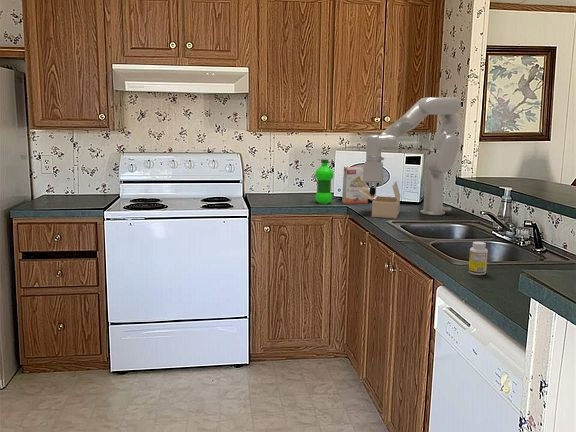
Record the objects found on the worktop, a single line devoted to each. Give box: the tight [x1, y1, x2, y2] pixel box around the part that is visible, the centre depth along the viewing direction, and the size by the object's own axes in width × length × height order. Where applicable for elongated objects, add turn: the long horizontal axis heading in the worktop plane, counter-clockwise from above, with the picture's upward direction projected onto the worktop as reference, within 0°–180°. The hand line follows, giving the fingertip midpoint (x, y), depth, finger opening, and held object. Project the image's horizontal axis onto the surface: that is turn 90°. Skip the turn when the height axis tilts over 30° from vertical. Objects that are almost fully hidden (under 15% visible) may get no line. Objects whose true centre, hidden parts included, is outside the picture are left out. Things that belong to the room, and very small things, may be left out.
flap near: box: [392, 181, 401, 201], centre depth 297 cm, size 8×18×1 cm
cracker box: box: [341, 166, 370, 205], centre depth 336 cm, size 14×6×21 cm, turn 105°
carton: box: [371, 195, 401, 220], centre depth 300 cm, size 12×21×8 cm, turn 165°
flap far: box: [358, 187, 377, 201], centre depth 301 cm, size 8×18×1 cm
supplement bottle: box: [468, 241, 489, 276], centre depth 191 cm, size 6×6×10 cm
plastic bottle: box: [314, 158, 334, 205], centre depth 333 cm, size 10×10×25 cm
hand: (372, 195), depth 300 cm, fingers closed
